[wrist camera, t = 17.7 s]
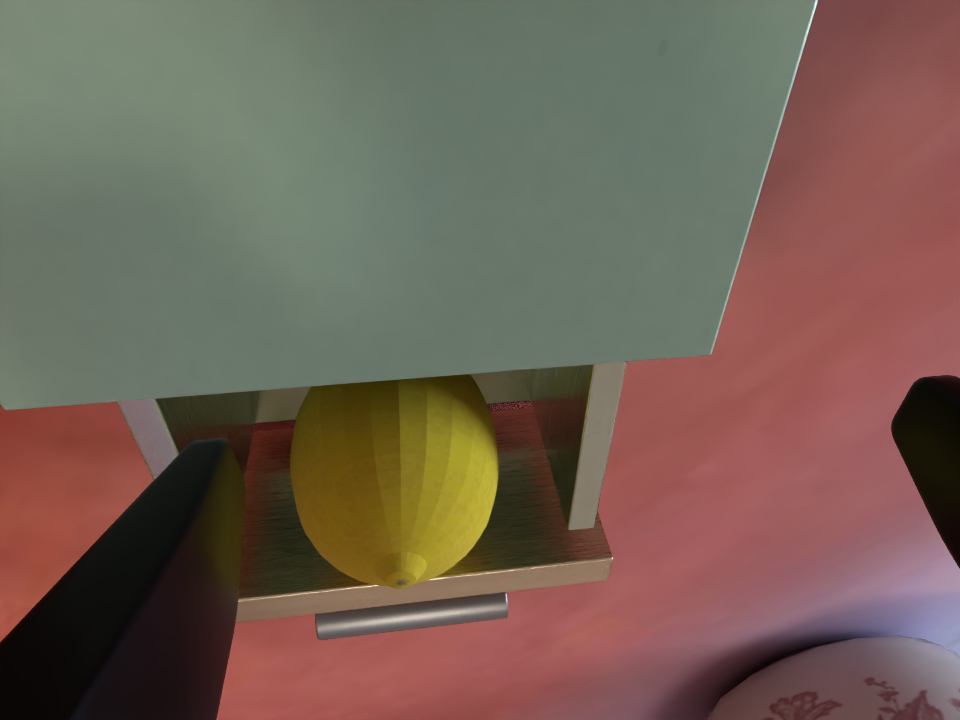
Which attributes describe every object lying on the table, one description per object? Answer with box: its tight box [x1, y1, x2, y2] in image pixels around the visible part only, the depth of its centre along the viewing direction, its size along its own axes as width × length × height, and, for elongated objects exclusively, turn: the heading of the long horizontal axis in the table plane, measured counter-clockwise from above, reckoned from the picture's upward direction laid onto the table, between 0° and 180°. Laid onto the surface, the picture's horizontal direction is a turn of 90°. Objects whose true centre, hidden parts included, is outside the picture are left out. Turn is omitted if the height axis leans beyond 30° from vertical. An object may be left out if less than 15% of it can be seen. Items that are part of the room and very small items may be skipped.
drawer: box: [116, 362, 627, 640], centre depth 19 cm, size 19×12×7 cm, turn 0°
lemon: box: [290, 374, 499, 589], centre depth 17 cm, size 6×6×8 cm
